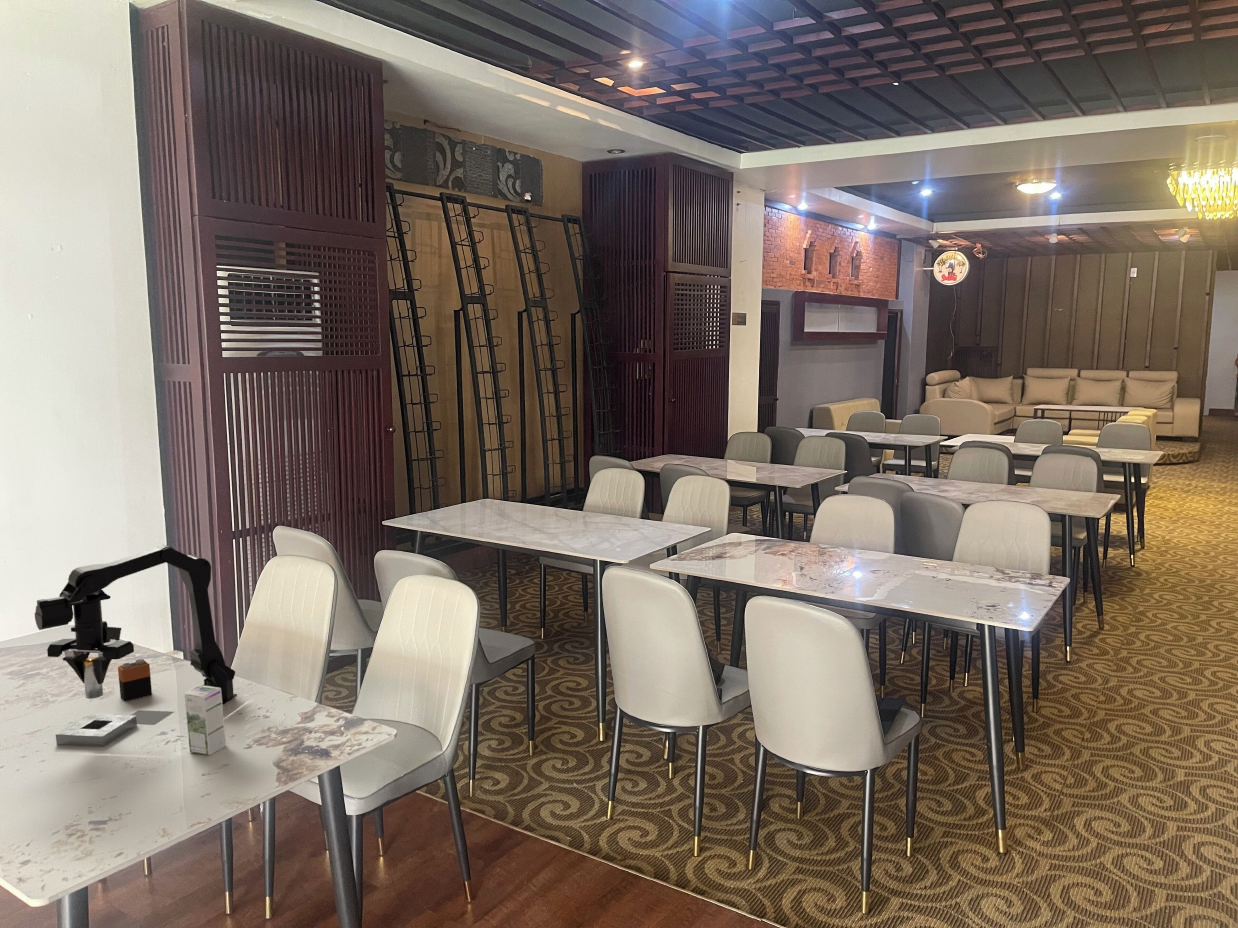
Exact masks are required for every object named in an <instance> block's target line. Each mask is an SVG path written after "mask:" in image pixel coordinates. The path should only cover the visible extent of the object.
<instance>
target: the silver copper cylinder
mask: <svg viewBox="0 0 1238 928" xmlns="http://www.w3.org/2000/svg"><path fill="white" fill-rule="evenodd" d="M97 657H98V656H93V657H88V658H87V659H84V660H83V670H84V682H85V684H84V692H85V698H86V699H89V700H91V699H98V698H101V697H102V696H103V695H104V689H103V683H102V684H98V681H97V678H96V674H95V670H94V666H93V662H92V660H93V659H95V658H97Z"/></svg>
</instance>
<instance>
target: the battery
mask: <svg viewBox="0 0 1238 928" xmlns="http://www.w3.org/2000/svg"><path fill="white" fill-rule="evenodd" d="M150 667H151V666H150V664H149V662H148V661H146V660H145V659H144V658H139V659H136V660H135V662H132V663H130V662H125V663H122V665H119V666H118V667H117V671H118V673H117V674H118V683H119V684H118V685H119V693H120V695H119V696H120V699H121V700H122V701H124V702H130V701H134V700H137V699H142V698H145V697H149V696H152V695H153V691H152V690H153V689H152V678H151V668H150Z"/></svg>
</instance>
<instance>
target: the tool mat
mask: <svg viewBox="0 0 1238 928" xmlns="http://www.w3.org/2000/svg"><path fill="white" fill-rule="evenodd" d="M173 713H174V711H169V710H167V711H166V710H165V711H163V710H142V709H139V710H137V711H135V712H133V713H132V714H130V715H134V716H136V720H137V725H149V726H151V725H152V726H153V725H154V726H155V725H156V724H158V723H160V722H162V720H164V719H166V718H167V717H169V716H170V715H172V714H173Z"/></svg>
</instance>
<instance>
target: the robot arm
mask: <svg viewBox="0 0 1238 928" xmlns="http://www.w3.org/2000/svg"><path fill="white" fill-rule="evenodd" d="M165 563H166V564H168V565H171V566H173V567H174V568H177V569H178V572H179V574H180V577H181V580H182V583H183V584H184V586H185V587H186V589H187V592H188V596H189V605H190V610H191V616H192V622H193V623H192V625H193V630H194V636H195V645H194V646H195V647H194V649H192V650H191V649H190V650H188V654H189V657H190V664H189V665H190V666H192V667H193V669H194V670H196V672H199V673H200V674H201V676H202V677H203V678H204V679H203V684H202V685H203V686H211V687H218V688H221V694H222V705H226V704H227V703H228V702H230V701H231V700H233V699H235V698H236V697H237V696H238V694H237V693H234V683H233V681H234V679H235V675H236V671H235V670H234V669H232V668H231V667H230V666H227V665H226V661H225V658H224V655H223V652H222V650H221V649H220V646H219V645H218V643H217V641H216V638H215V637H216V636H215V630H214V629H215V628H214V621H213V615H212V609H211V602H210V595H209V587H210V584H211V579H212V565H211V562H210V561H209V560H208V559H207V558H203V557H201V556H198V555H194V554H184V553H183V552H181V551H178V550H175V548H173V547H171V546H169V545H166V544H160V545H158V546H156V547H154V548H151V549H148V550H145V551H142V552H138V553H135V554H132V555H129V556H126V557H124V558H120V559H117V560H114V561H112V562H111V561H110V562H108V563H107V562H106V563H100V564H90V565H84V566H83V565H82V566H79V567H76V568H74V569H72V571H70V574H69V575H68V579H67V580H68V581H67V583H66V585H65V586H64V587H63V589H62V591H61V592H60V593H59V595H58V596H59V597H53V598H52V597H51V598H46V599H45V598H42V599H37V600H36V606H35V612H34V620H35V624H36V627H37V629H38V630H39V631H42V630H47V629H52V628H56V627H63V626H67V625H69V623H71V622H72V620H74V626H72V627H70V632H71V633H73V632H75V634H74V635H75V638H62V639H59V640H57V641H55V642H52V643H51V644H49V645H48V647H47V649H46V651H47V652H46V653H47V658H60V657H61V655H62V654H63V652H64V657H62V661H65V662H66V663H67V664H68V665H69V666H70V668H71V669H73V671H74V672H75V674H76V675H77V677H79V679H80V681H81V682H82V683H83V684H84V685H85V682H84V670H83V660H84V659H87V658H90V654H91V653H92V654H98V655H97V656H96V657H97V658H95V659H93V660H92V662H93V666H94V670H95V674H96V678H97V681H98V684H102V685H103V684H104V681H105V678H106V675H107V672H108V670H109V666H110V664H111V662H112V660H120V659H122V658H125V657H126V656H129V655H130V654H133V653H134V652H135V650H134V649H135V645H134V643H133V642H131V641H129V640H120V638H121V632H122V627H114V626H108V622H107V621H106V620H103V612H102V611H103V610H102V602H101V601H106V600H110V599H111V595H108V594H107V593H106V592H105V591H104V590H103V589H105V588H107V587H108V586H110V585H111V584H112V583H114V582H115V581H117V580H119V579H122V578H124V577H128V576H131V575H134V574H137V573H139V572H142V571H145V570H147V569H151V568H153V567H156V566H160V565H163V564H165ZM111 640H115V641H114V642H112V643H110V642H111ZM108 643H110V644H108ZM106 644H107V645H106Z"/></svg>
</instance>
